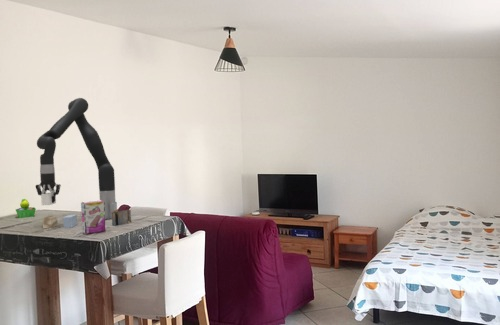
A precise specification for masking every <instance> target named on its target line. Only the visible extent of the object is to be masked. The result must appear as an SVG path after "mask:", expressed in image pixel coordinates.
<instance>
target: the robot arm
mask: <svg viewBox="0 0 500 325" xmlns="http://www.w3.org/2000/svg"><path fill="white" fill-rule="evenodd" d="M67 108H68V111H67V112H66V113H65V114H64V115H63V116H61V117H60V119H58V120H57V121H56V122H55V123H54V124H53V125H52V126H51V127H50V128H49V130H47V131H45V132H44V133H43V134H41V135H40V136H39V137H38V139H37V141H36V147H38V149H40V150H43V153H42V154H40V156H39V157H40V158H39V161H40V162H39V164H40V165H39V167H40V168H39V172H40V173H39V174H40V175H39V176H40V184H36V185H35V190H36V192H37V195H38V196H41V194H45V193H48V192H47V191H49V193H51V195H52V203H54V202H55V201H56V202H57V199H56V200H55V196H57V195H59V194H60V191H61V187H62V185H61V184H59V183H56V174H55V173H56V172H55V171H56V170H55V161H54V159H55V158H54V157H55V153H56V148H57V143H56V140H58V139H60V138H61V137H62V135H63V134H64V133H65V132H66V131H67V130H68V129H69V128H70V126H71V125H73V123H75V124H76V126H77V128H78V131H79V133H80V135H81V137H82V139H83V142H84V144H85V146H86V149H87V150H88V152H89V153H90V155H91V157H93V160H94V162H95V164H96V168H97V170H98V188H99V189H98V190H99V191H98V195H99V200H101V201H104V204H105V220H112V213H113V212H112V211H114V210H115V209H116V210H117V209H118V206H117V205H118V203H117V200H116V181H115V180H116V179H115V169H114V167H113V166H112V165H113V164H111V162H110V159H108V156H107V154H106V151H105V148H104V145H103V142H102V139H101V137H100V135H99V133H98V131H97V130H96V129H95V128H94V126H93V125H91V124H90V123H89V121H88V120H87V117H86V115H85V112H87V111H88V109H89V103H88V101H87V99H86V98H83V97H78V98H75V99H73V100H71V101H70V102H69V103H68V105H67Z"/></svg>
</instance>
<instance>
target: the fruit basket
mask: <svg viewBox="0 0 500 325" xmlns="http://www.w3.org/2000/svg"><path fill="white" fill-rule="evenodd" d="M36 210H37V209H36V207H32V206H31V207H30V203H29V201H28V199H26V198H23V199H21V202H20V207H18V208H15V213H16V215H17V218H19V219H21V218H24V219H25V218H31V217H35V214H36Z"/></svg>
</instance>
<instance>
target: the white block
mask: <svg viewBox="0 0 500 325" xmlns="http://www.w3.org/2000/svg"><path fill="white" fill-rule="evenodd" d="M56 196H57V195H56ZM56 196H55V200H56V201H55V202H54V203H52V195H51V192H46V193H45V194H41V195H40V198H41V206H52V205H53V204H56V203H57V198H56Z"/></svg>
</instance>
